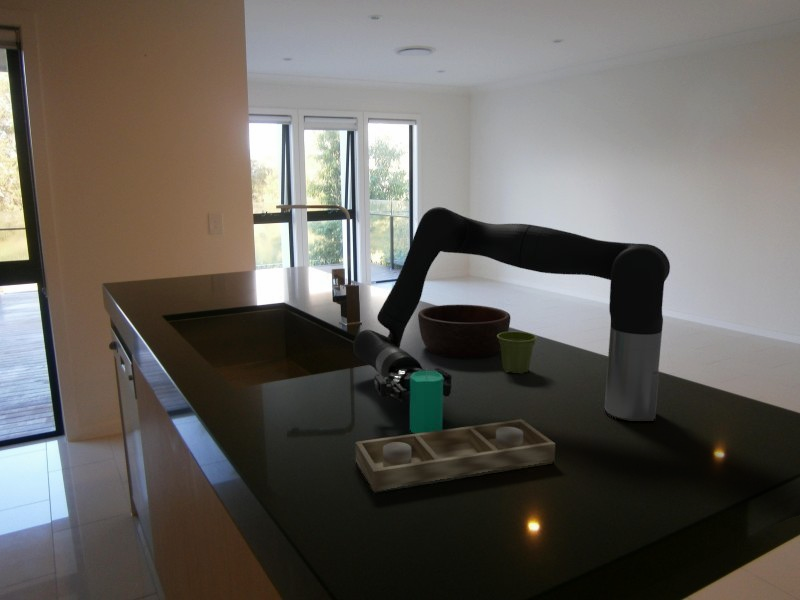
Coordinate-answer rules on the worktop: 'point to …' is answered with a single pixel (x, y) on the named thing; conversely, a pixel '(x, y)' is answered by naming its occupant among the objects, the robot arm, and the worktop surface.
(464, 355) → the wooden bowl
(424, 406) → the candle
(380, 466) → the tray
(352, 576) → the worktop surface
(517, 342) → the plant pot
